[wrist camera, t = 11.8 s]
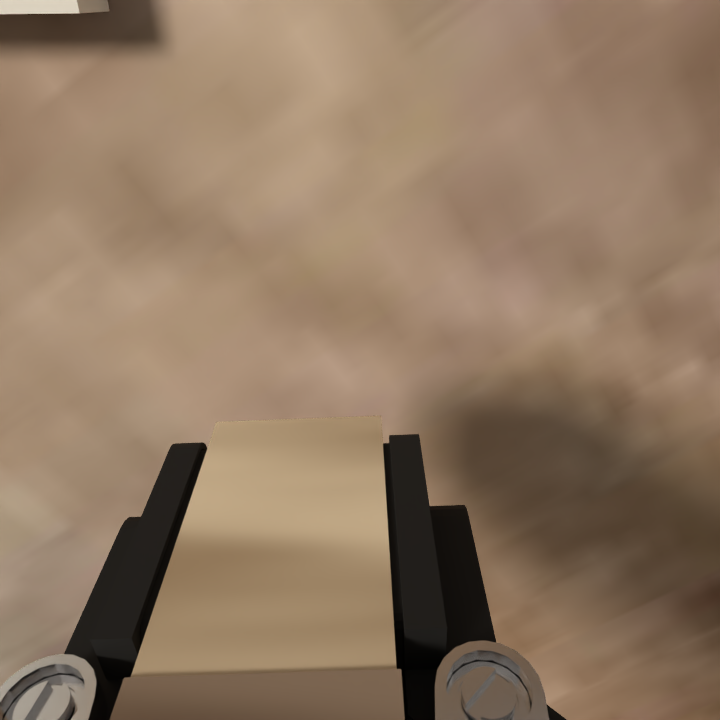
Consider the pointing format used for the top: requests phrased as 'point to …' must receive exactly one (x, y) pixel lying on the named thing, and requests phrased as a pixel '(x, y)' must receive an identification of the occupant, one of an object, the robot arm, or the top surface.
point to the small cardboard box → (276, 583)
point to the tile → (52, 6)
